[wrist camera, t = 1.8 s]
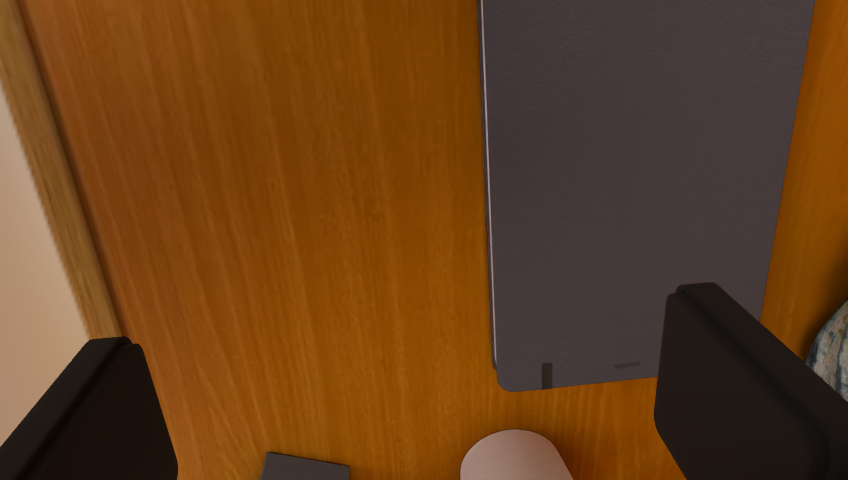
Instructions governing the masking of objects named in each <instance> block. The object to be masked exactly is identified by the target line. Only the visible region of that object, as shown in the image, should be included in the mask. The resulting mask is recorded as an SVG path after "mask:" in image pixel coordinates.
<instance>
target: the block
mask: <svg viewBox="0 0 848 480" xmlns="http://www.w3.org/2000/svg"><path fill="white" fill-rule="evenodd" d="M260 480H349V466H344V465H339V464H333V463H327V462H321V461H316V460H310V459H304V458H299V457H293V456H287V455H281V454H276V453H270V452H267V453H266V457H265V461H264V466H263V470H262V474H261V478H260Z"/></svg>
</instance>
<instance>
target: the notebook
mask: <svg viewBox="0 0 848 480" xmlns="http://www.w3.org/2000/svg"><path fill="white" fill-rule="evenodd" d="M477 3H478V27H479V52H480V76H481V100H482V124H483V148H484V172H485V196H486V221H487V245H488V269H489V293H490V317H491V341H492V361H493V366H494V368H495V370H496V371H497V379H498V383H499V385H500V386H501V387H502V389H504V390H507V391H510V392H519V391H528V390H538V389H541V390H543V389H552V388H556V387H565V386H575V385H584V384H593V383H603V382H612V381H621V380H631V379H640V378H649V377H658V371H659V362H660V353H661V344H662V335H663V325H664V316H665V307H666V300H667V297H668V295H669V294H672V293H675V291H676V289H677V287H678V286H680V285H682V284H693V283H704V282H714V283H716V284H718V285H719V286H720V287H721V288H722V289H723V290H724V291H725V292H726V293H728V294H729V295H730V296H731V297H732V298H733V299H734V300H735V301H736V302H737V303H739V304H740V305H741V306H742V307H743V308H744V309H745V310H746V311H747V312H749V313H750V314H751V315H752V316H753V317H754V318H755V319H756V320H757V321H759V322H760V316H761V311H762V305H763V299H764V293H765V287H766V282H767V276H768V270H769V264H770V258H771V253H772V247H773V241H774V235H775V229H776V224H777V218H778V212H779V206H780V200H781V195H782V189H783V183H784V177H785V172H786V166H787V160H788V154H789V148H790V143H791V137H792V131H793V125H794V119H795V114H796V108H797V102H798V96H799V90H800V85H801V79H802V73H803V67H804V62H805V56H806V50H807V44H808V38H809V33H810V27H811V21H812V15H813V9H814V4H815V0H477Z"/></svg>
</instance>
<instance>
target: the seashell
mask: <svg viewBox="0 0 848 480" xmlns="http://www.w3.org/2000/svg"><path fill="white" fill-rule="evenodd" d="M805 364H806V365H807V366H809V367H810V368H811V369H812V370H813V371H814V372H815V373H816V374H817V375H819V376H820V377H821V378H822V379H823V380H824V381H825V382H826V383H827V384H829V385H830V386H831V387H832V388H833V389H834V390H835V391H836V392H837V393H839V394H840V395H841V396H842V397H843V398H844V399H845V400H846V401H847V402H848V299H847V300H846V301H845V302H844V303H843V304H842V305H841V306H840V308H839V309H838V310H837V311H836V312H835V313H834V314H833V316H832V317H831V318H830V319H829V320H828V321H827V322H826V323H825V324H824V325H823V327H822V328H821V330H820V331H819V333H818V335H817V336H816V338H815V340H814V342H813V343H812V345H811V348H810V350H809V353H808V356H807V358H806V361H805Z"/></svg>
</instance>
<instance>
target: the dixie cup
mask: <svg viewBox="0 0 848 480" xmlns="http://www.w3.org/2000/svg"><path fill="white" fill-rule="evenodd" d="M460 480H573V478H572V476H571V474H570V472H569V471H568V469H567V467H566V465H565V464H564V462H563V460H562V458H561V456H560V455H559V453H558V451H557V449H556V448H555V446H554V445H553V444H552V443H551V442H550V441H549V440H548V439H547V438H545V437H543V436H542V435H540V434H537V433H534V432H531V431H526V430H520V429H512V430H504V431H500V432H496V433H494V434H491V435H489V436H487V437H485V438H483V439H481V440H480V441H478V442H477V443H476V444H475V445H474V446H473V447H472V448H471V449H470V450H469V451H468V452H467V454H466V455H465V457H464V459H463V461H462V464H461V469H460Z"/></svg>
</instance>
